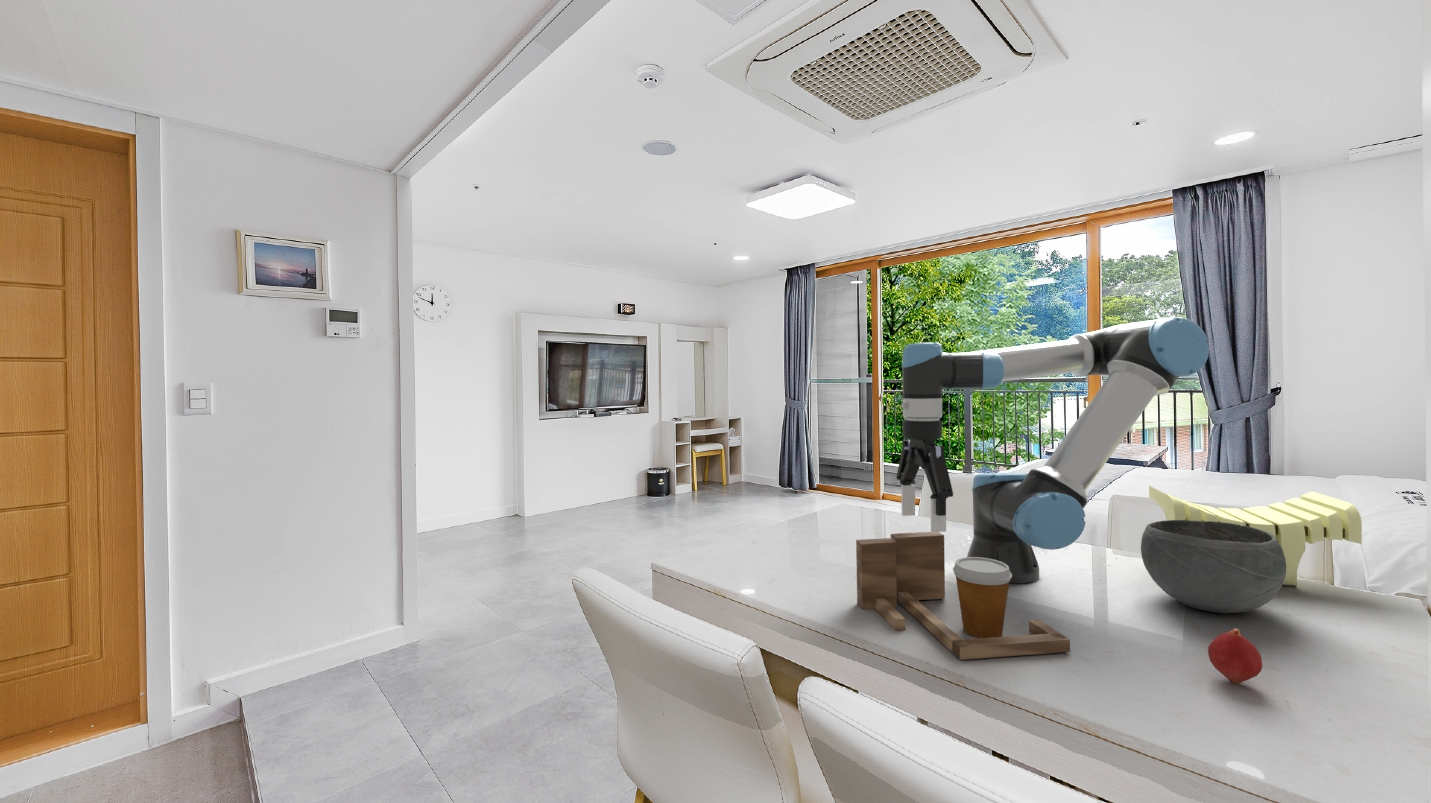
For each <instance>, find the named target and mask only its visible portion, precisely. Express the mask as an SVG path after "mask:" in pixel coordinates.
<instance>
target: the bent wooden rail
mask: <svg viewBox="0 0 1431 803" xmlns="http://www.w3.org/2000/svg"><path fill="white" fill-rule="evenodd" d="M890 539H892V540H893V541H895V542H896V592H897V602H898V603H899V604H900V605H901V606H902V607H903V608H905V610H906V611H907V612H908V613H910V615H912V616H913V617H914V618H915V619H916V620H917V621H919V623H920V624H921V625H922V626H924V627H925V628H926V629H927V630H928V631H929V632H930V633H931V634H932V635H933V636H935V637H936V639H937V640H938V641H939V642H941V643H942V644H943V645H944V646H945V647H946V648H947V649H948V650H949V651H951V652H952V653H953V655H955V656H956V657H957V659H959V661H960V660H961V661H962V660H972V659H973V660H975V659H986V658H1002V657H1004V658H1005V657H1015V656H1030V655H1041V654H1042V655H1043V654H1044V655H1045V654H1054V653H1055V654H1056V653H1070V652H1071V639H1070V638H1069V637H1066V636H1065V635H1064V634H1062V633H1060V632H1059V631H1057V630H1055V629H1054V628H1052V627H1051V626H1049V625H1048V624H1046V623H1044V622H1043V621H1042V620H1040V619H1032V620H1031V619H1030V620H1028V633H1030V634H1025V635H1024V634H1023V635H1008V636H1001V637H991V638H979V637H976V638H965V639H964V638H962V637H961V636H960V635H958V634H957V633H956V632H955V631H954V630H952V629H951V628H950V627H949V626H948V625H946V623H944V622H943V621H942V620H941V619H940V618H938V617H937V616H936V615H935V614H934V613H933V612H931V611H930V610H929V609H928V608H927V607H926V606H924V604H922V603H921V602H920V601H926V600H927V601H928V600H930V601H931V600H944V599H946V579H945V578H946V575H945V574H946V572H945V570H946V569H945V565H946V564H945V560H946V559H945V534H942V532H932V531H920V532H919V531H918V532H900V533H899V532H898V533H890Z"/></svg>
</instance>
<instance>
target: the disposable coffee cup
mask: <svg viewBox="0 0 1431 803" xmlns="http://www.w3.org/2000/svg"><path fill="white" fill-rule="evenodd" d="M952 571H953V574H954V575H955V578H956V587H957V593H958V594H957V595H958V601H959V607H960V614H961V622H962V629H963V631H964V632H965V633H966V634H968V635H970V636H971V637H976V638H991V637H1003V632H1004V631H1003V630H1004V625H1005V624H1004V623H1005V615H1006V607H1007V601H1008V594H1009V593H1008V592H1009V587H1010V586H1009V584H1010V583H1009V581H1010V579H1011V578H1012V573H1011V572H1010V570H1009V567H1008V565H1006V564H1005V563H1003V562H1000V561H997V560H994V559H988V558H980V557H967V556H966V557H961V558H958V559H957V560H956V561H955V564H954V566H953V567H952Z"/></svg>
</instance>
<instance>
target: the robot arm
mask: <svg viewBox="0 0 1431 803" xmlns="http://www.w3.org/2000/svg"><path fill="white" fill-rule="evenodd" d="M1207 341H1208V338H1207V335H1206V333H1205V331H1204V330H1203V329H1202V328H1201V327H1200V325H1199V324H1197V323H1196V322H1195V321H1193V320H1191V319H1188V318H1185V317H1181V316H1179V317H1178V316H1177V317H1176V316H1175V317H1168V316H1166V317H1165V316H1164V317H1159V318H1157V319H1152V320H1145V321H1136V322H1129V323H1127V322H1126V323H1121V324H1116V325H1113V326H1109V327H1105V328H1102V329H1099V330H1098V329H1097V330H1095V331H1090V332H1084V333H1076V334H1073V335H1071V336H1070V337H1069V338H1068V339H1064V340H1057V341H1056V340H1055V341H1050V342H1049V341H1048V342H1047V341H1046V342H1041V343H1033V344H1032V343H1031V344H1026V345H1024V344H1023V345H1017V346H1008V347H1001V348H993V349H991V348H990V349H985V350H984V349H983V350H976V351H970V352H969V351H968V352H944V350H943V347H942V344H941V343H939V342H915V343H909V344H908V343H907V344H906V345H905V346H904V347H903V351H902V361H901V368H902V369H901V371H902V403H901V404H900V407H901V408H902V417H903V418H905V420H903V421H902V436H903V438H904V439H903V440H902V444H901V445H902V446H901V448H902V449H901V453H900V458H899V463H898V468H897V471H896V479H897V481H899V485H901V487H900V488H901V490H900V491H901V496H900V497H901V516H903V517H904V516H905V517H906V516H908V517H909V516H916V485H917V483H916V480H915V478H916V476H917V474H918V472H919V469H920V468H921V469H922V470H923V471H924V474H925V477H926V479H927V482H928V486H929V488H930V491H931V495H930V496H929V498H930V532H939V533H944V532H945V533H946V532H947V499H948V498H950V497H951V498H952V497H954V491H953V487H952V482H951V478H950V473H949V470H948V466H947V462H946V457H945V456H946V455H945V454H946V452H945V446H943V445H936V440H940V439H942V437H943V421H942V420H940V419H941V418H942V417H943V390H944V391H946V390H947V391H949V390H981V391H984V390H990V389H991V390H992V389H996V388H998V387H999V386H1000V385H1001V384H1002V383H1003V382H1007V381H1008V382H1009V381H1016V380H1017V381H1019V380H1025V379H1032V378H1033V379H1034V378H1040V377H1041V378H1042V377H1050V376H1057V375H1065V374H1067V375H1068V374H1072V375H1074V376H1077V377H1085V376H1108V377H1107V378H1106V380H1105V381H1104V383H1102V385H1101V386H1100V387H1099V389H1098V390H1097V392H1096V393H1095V395H1094V396H1093V398H1092V399H1091V400H1090V401H1089V403H1088V404H1087V406H1086V407H1085V409H1084V410H1083V411H1082V413H1081V414H1080V416H1079V417H1078V418H1077V420H1076V421H1075V422H1074V423H1073V425H1072V427H1071V428H1070V429H1069V431H1067V433H1066V434H1065V436H1064V438H1063V439H1062V440H1061V442H1060V443H1059V444H1058V446H1057V447H1056V448H1055V450H1054V451H1053V452H1052V454H1051V456H1050V457H1049V459H1047V461H1046V462H1045V463H1044V464H1043V466H1041V467H1035V468H1031V469H1030V470H1029V472H1027V473H1025V472H1024V473H1023V472H991V473H990V472H989V473H985V472H984V473H979V474H976V475H974V477H973V479H972V488H971V491H972V514H973V515H972V516H973V518H972V520H973V523H972V524H973V526H972V527H973V537H972V541H971V543H970V546H969V548H968V552H967V554H966V557H980V558H988V559H994V560H997V561H1000V562H1003V563H1005V564H1006V565H1008V567H1009V570H1010V572H1011V573H1012V578H1011V579H1010V581H1009V584H1026V583H1027V584H1028V583H1032V582H1036V581H1038V580H1039V579H1040V566H1039V563H1038V560H1037V557H1036V554H1035V552H1034V549H1033V547H1036V548H1039V549H1043V550H1050V551H1051V550H1052V551H1054V550H1060V549H1064V548H1067V547H1068V546H1071V545H1072V544H1073V543H1075V542H1076V541H1077V540H1078V539H1079V538H1080V537H1081V536H1082V534H1083V532H1084V529H1085V527H1086V521H1085V517H1086V513H1085V510H1084V508H1085V507H1086V505H1087V504H1088V502H1089V500H1088V496H1087V494H1086V491H1087V489H1088V488H1089V486H1091V483H1093V481H1094V480H1095V478H1096V477H1097V475H1099V473H1100V471H1101V470H1102V468H1103V467H1104V466H1105V465H1106V463H1107V462H1108V460H1109V459H1110V458H1111V457H1112V455H1113V454H1114V452H1115V450H1116V449H1117V447H1119V445H1120V444H1121V442H1122V441H1123V440H1124V438H1125V437H1126V435H1127V434H1128V433H1129V431H1130V430H1131V429H1132V427H1133V426H1134V425H1135V424H1136V422H1137V420H1138V419H1139V418H1140V416H1141V415H1142V413H1144V411H1145V409H1146V408H1147V407H1148V405H1149V404H1150V402H1151V401H1152V399H1154V397H1156V396H1160V395H1165V394H1168V392H1169V391H1170V390H1171V389H1172V388H1173V386H1174V385H1175V383H1176V382H1177V380H1178V379H1179V378H1180V377H1189V376H1190V375H1191V376H1192V375H1194V374H1196V373H1198V372H1199V371H1201V370H1202V368H1204V366H1205V364H1206V363H1207V360H1208V358H1209V353H1210V347H1209V344H1208V342H1207Z"/></svg>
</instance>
